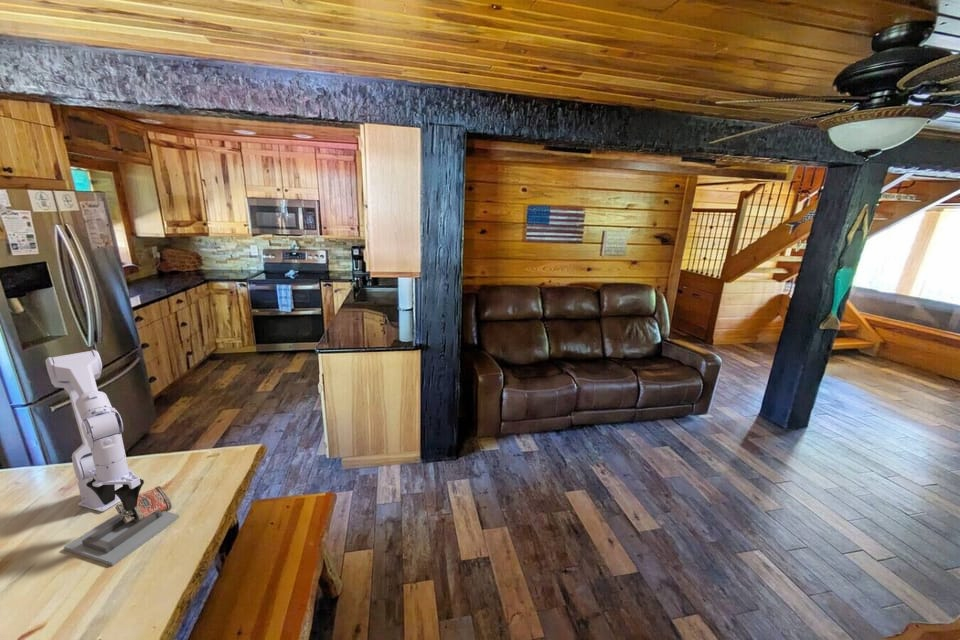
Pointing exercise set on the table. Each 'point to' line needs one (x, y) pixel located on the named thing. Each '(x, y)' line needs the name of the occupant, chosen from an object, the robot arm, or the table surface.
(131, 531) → the socket dock
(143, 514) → the lighter
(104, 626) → the table surface
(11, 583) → the table surface
